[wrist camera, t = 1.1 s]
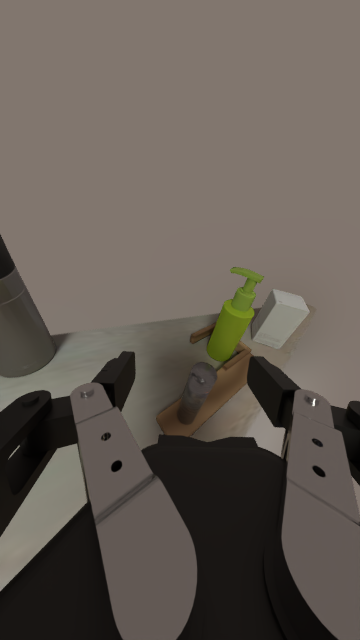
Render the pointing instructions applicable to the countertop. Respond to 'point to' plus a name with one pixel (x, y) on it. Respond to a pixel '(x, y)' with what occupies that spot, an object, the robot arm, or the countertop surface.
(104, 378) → the robot arm
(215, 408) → the base with upright cylinder
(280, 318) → the supplement box
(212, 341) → the soap dispenser
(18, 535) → the countertop surface
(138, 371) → the countertop surface
